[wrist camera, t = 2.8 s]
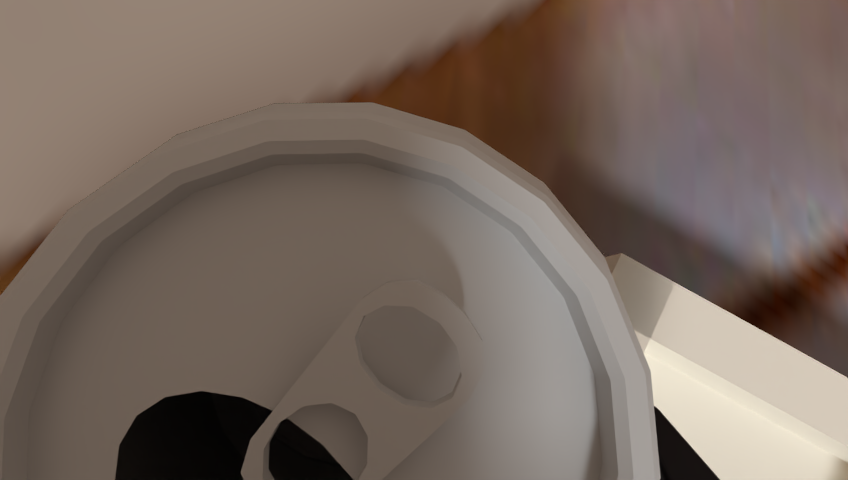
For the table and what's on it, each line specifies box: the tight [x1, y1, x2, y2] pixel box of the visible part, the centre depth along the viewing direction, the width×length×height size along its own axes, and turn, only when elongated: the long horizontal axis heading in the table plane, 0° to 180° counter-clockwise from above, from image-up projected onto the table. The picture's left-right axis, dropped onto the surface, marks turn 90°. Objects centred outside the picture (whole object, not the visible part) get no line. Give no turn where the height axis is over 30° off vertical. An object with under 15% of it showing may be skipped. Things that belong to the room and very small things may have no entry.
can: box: [0, 102, 661, 480], centre depth 11 cm, size 8×8×12 cm
